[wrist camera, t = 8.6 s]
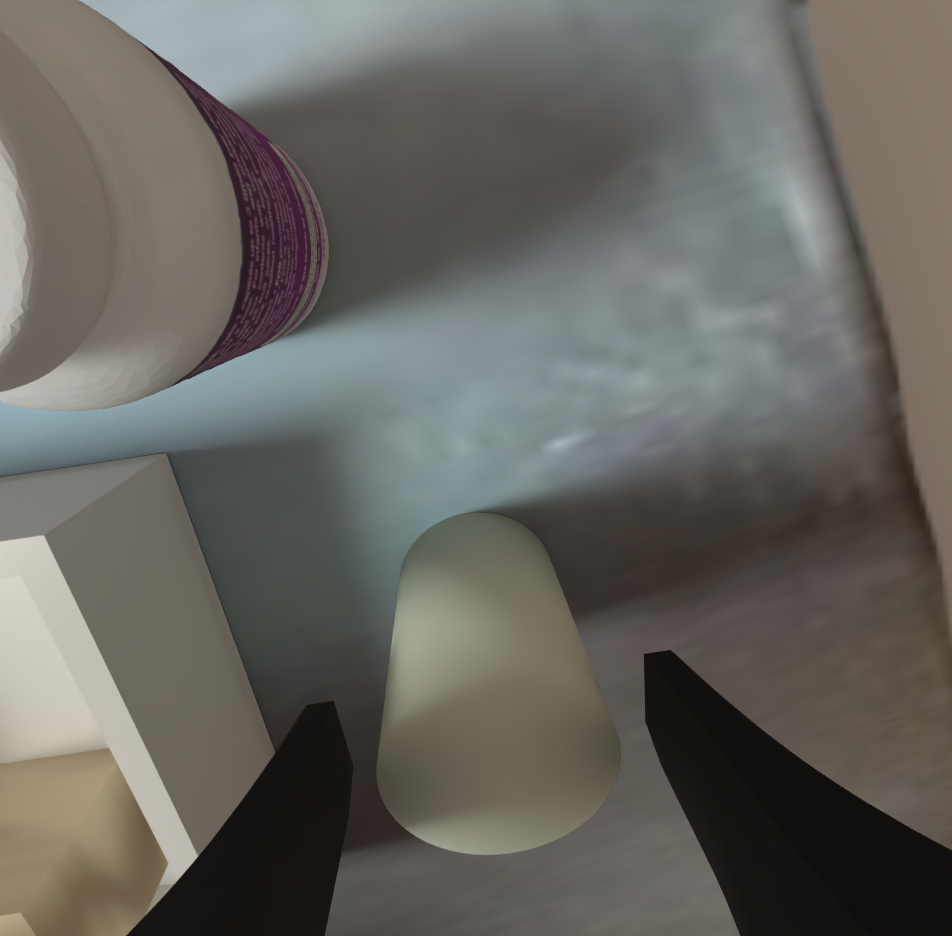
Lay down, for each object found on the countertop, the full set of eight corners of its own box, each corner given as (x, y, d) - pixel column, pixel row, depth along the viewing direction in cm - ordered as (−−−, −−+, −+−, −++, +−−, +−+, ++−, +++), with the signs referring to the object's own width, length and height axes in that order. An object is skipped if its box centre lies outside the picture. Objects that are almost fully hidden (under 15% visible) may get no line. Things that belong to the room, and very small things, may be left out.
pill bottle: (270, 79, 12) (-206, -457, 3) (366, 305, 14) (237, 369, 5) (62, 167, 13) (-898, -93, 4) (183, 377, 14) (-244, 557, 5)
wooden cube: (177, 844, 20) (96, 1022, 15) (42, 864, 20) (-81, 1050, 15) (129, 745, 18) (20, 912, 13) (-20, 767, 18) (-182, 943, 13)
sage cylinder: (558, 632, 18) (624, 834, 12) (414, 654, 18) (400, 870, 12) (545, 501, 16) (616, 654, 10) (386, 525, 16) (352, 695, 10)
